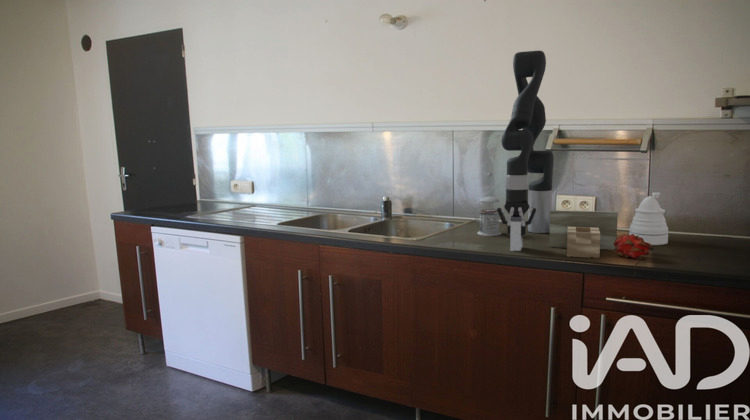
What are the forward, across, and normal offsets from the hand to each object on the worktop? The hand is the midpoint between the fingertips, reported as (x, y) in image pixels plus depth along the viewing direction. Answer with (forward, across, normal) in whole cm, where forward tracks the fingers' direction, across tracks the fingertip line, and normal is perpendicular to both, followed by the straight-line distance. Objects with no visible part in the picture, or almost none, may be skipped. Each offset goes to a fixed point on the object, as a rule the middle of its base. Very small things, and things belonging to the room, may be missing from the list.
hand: (516, 235), depth 192 cm
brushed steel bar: (+5, 0, 0) cm, 5 cm away
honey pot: (+5, -45, -24) cm, 51 cm away
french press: (+5, +14, -27) cm, 31 cm away
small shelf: (+5, -22, 0) cm, 22 cm away
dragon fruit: (+5, -37, +5) cm, 38 cm away
